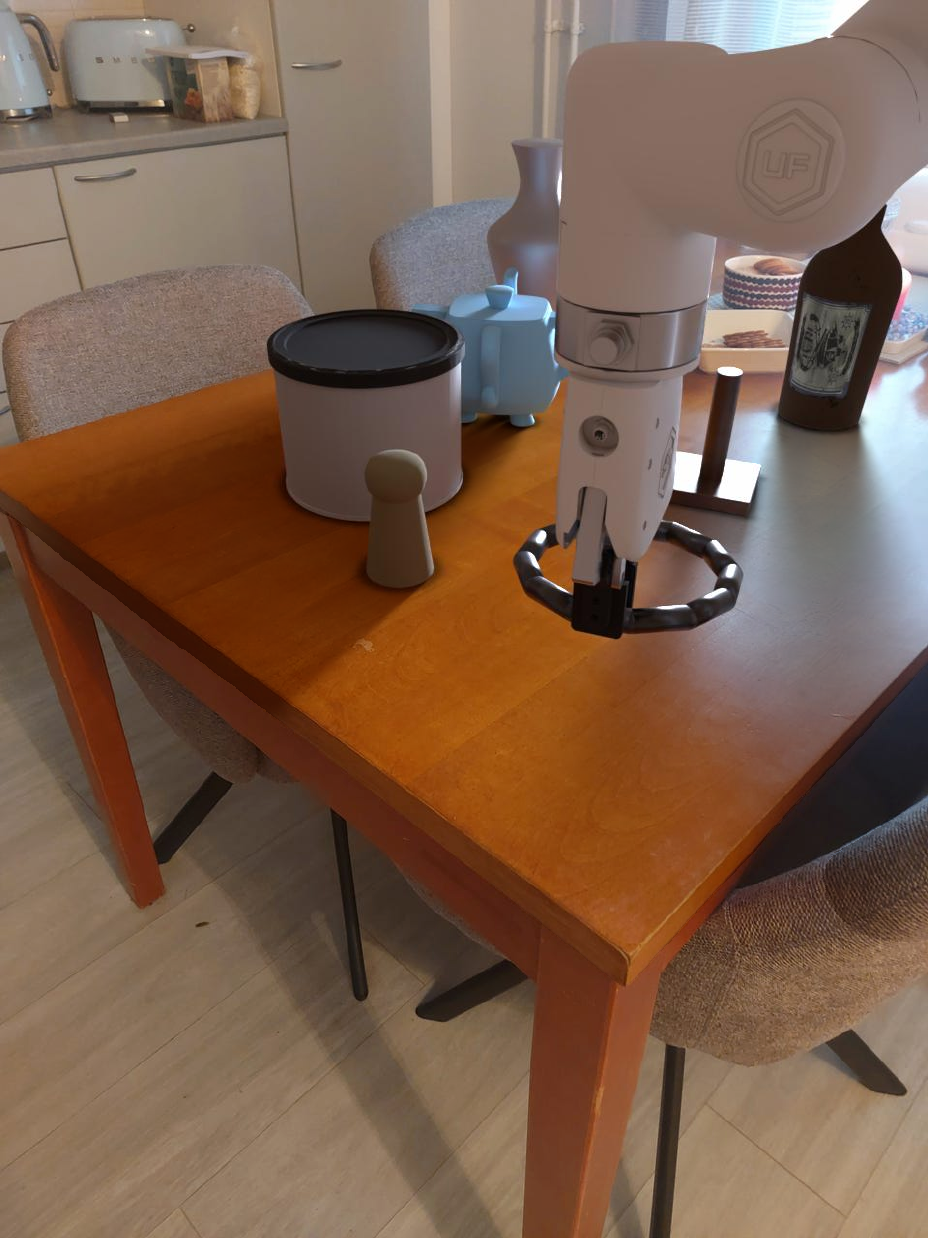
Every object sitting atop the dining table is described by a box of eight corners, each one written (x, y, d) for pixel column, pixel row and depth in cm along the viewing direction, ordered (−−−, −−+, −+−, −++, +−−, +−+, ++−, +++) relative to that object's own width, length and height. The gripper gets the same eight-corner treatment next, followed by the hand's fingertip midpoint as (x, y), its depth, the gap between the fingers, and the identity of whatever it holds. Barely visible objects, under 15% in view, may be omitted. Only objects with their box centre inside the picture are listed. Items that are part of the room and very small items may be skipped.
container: (253, 470, 95) (232, 330, 87) (399, 427, 105) (393, 296, 96) (344, 543, 83) (331, 388, 75) (500, 486, 93) (505, 343, 84)
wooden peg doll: (447, 563, 80) (445, 451, 74) (408, 595, 76) (403, 479, 70) (392, 544, 83) (387, 435, 77) (352, 574, 79) (342, 461, 73)
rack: (758, 477, 94) (783, 362, 87) (747, 516, 88) (773, 394, 80) (673, 463, 97) (691, 350, 90) (656, 499, 90) (673, 380, 83)
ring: (750, 551, 65) (755, 532, 65) (721, 659, 53) (725, 636, 52) (552, 517, 70) (553, 498, 69) (483, 608, 58) (484, 586, 57)
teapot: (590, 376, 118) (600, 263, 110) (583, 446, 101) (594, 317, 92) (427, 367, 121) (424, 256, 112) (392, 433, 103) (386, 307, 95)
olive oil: (790, 392, 114) (838, 176, 99) (875, 411, 109) (940, 187, 94) (758, 419, 107) (806, 191, 92) (848, 441, 102) (913, 204, 87)
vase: (469, 321, 137) (470, 137, 122) (551, 309, 142) (562, 131, 127) (513, 350, 126) (519, 153, 112) (600, 336, 131) (617, 145, 116)
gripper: (671, 391, 38) (631, 713, 49) (726, 294, 50) (684, 571, 61) (507, 371, 41) (503, 682, 51) (596, 283, 53) (578, 551, 63)
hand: (601, 620), depth 56 cm, fingers closed on ring, 1 cm apart
